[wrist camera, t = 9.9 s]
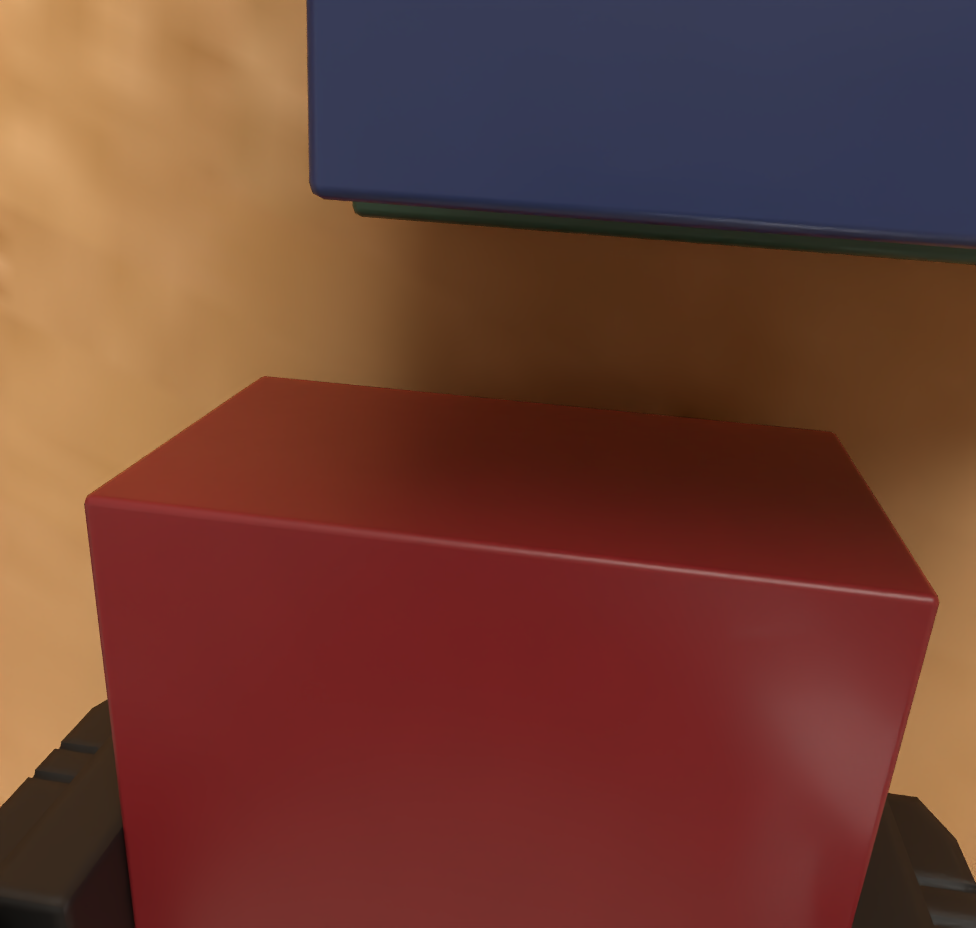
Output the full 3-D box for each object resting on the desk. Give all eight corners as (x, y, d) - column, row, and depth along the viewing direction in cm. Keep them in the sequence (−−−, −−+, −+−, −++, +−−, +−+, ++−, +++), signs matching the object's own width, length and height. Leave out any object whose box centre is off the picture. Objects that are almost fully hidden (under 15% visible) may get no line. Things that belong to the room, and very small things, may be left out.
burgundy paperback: (258, 373, 9) (74, 496, 6) (839, 429, 8) (950, 598, 5) (281, 956, 12) (165, 1229, 9) (714, 1033, 11) (741, 1357, 8)
